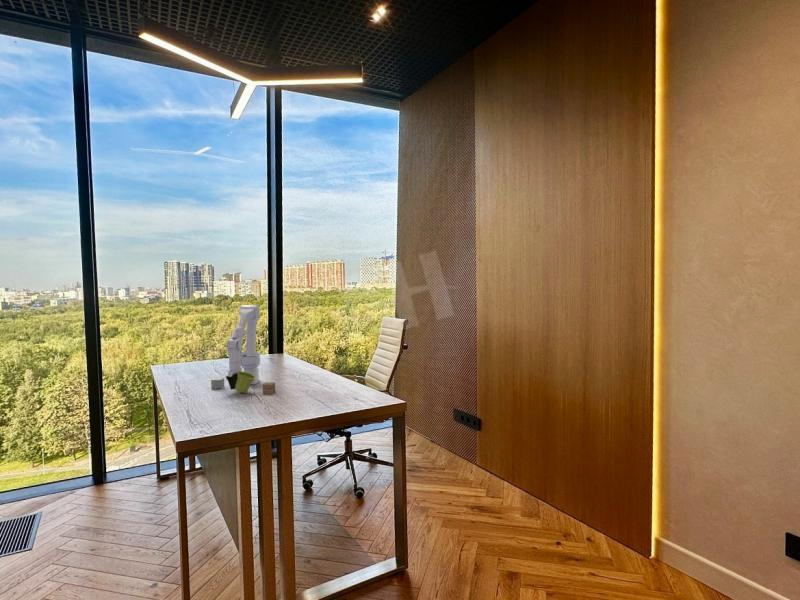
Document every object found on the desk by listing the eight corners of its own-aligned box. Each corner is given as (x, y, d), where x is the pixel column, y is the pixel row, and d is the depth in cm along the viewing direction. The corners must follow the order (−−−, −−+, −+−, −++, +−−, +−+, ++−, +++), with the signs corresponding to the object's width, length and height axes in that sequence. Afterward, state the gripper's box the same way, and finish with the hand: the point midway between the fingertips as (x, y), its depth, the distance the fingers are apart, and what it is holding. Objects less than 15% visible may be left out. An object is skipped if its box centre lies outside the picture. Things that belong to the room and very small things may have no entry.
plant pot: (252, 392, 239) (258, 376, 239) (245, 395, 230) (251, 379, 230) (236, 385, 240) (242, 370, 240) (228, 389, 231) (234, 373, 231)
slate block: (215, 387, 249) (215, 377, 248) (224, 387, 249) (224, 377, 248) (211, 389, 244) (211, 380, 243) (220, 389, 244) (220, 379, 243)
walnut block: (265, 391, 237) (265, 382, 237) (275, 391, 237) (275, 382, 237) (262, 394, 232) (262, 384, 232) (272, 394, 232) (272, 384, 232)
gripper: (232, 359, 245) (233, 384, 246) (221, 364, 231) (222, 390, 231) (245, 359, 245) (246, 384, 246) (235, 364, 231) (236, 390, 231)
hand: (235, 387), depth 238 cm, fingers open, 7 cm apart
